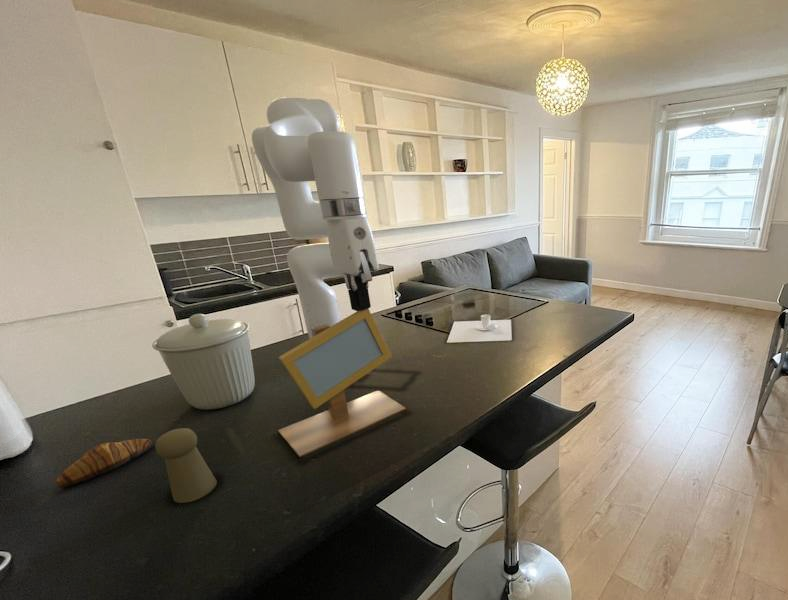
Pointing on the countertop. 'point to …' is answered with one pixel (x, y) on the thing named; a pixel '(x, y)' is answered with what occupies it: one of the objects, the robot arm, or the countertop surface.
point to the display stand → (338, 418)
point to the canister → (209, 361)
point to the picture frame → (336, 357)
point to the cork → (185, 465)
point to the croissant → (102, 460)
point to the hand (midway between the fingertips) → (361, 308)
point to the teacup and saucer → (481, 330)
